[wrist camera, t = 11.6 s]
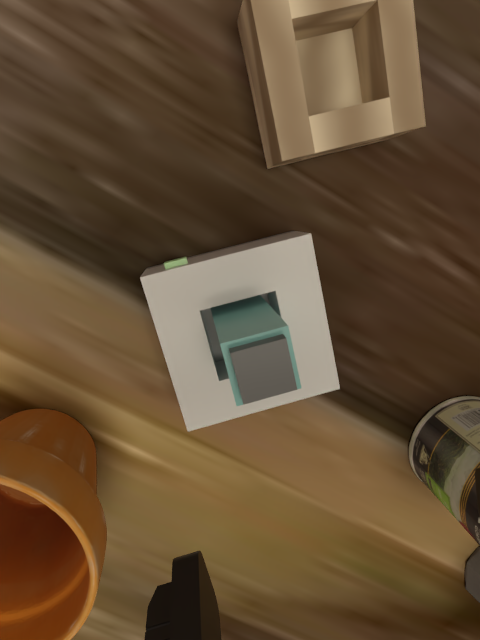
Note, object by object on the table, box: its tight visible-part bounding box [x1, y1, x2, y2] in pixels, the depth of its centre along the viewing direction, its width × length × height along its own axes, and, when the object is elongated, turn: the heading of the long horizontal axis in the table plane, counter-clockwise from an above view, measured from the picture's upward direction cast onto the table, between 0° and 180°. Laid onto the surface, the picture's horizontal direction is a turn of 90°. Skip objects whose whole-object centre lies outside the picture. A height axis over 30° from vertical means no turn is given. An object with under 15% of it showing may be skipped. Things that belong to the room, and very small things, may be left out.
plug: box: [210, 295, 301, 406], centre depth 28 cm, size 4×4×11 cm
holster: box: [237, 0, 426, 169], centre depth 28 cm, size 10×10×5 cm
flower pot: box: [0, 409, 107, 640], centre depth 29 cm, size 14×14×13 cm
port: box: [140, 231, 340, 432], centre depth 32 cm, size 12×12×5 cm
